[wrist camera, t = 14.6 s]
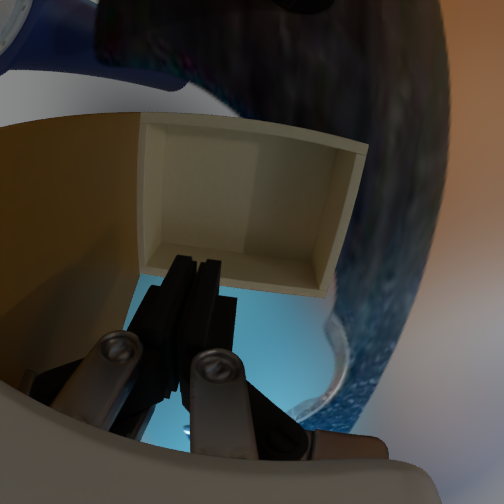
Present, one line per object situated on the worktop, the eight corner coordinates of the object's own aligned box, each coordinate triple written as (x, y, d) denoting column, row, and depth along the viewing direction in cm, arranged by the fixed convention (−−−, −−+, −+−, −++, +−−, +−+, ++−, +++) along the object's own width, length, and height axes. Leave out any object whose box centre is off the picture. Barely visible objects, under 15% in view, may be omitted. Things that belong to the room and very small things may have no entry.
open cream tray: (345, 138, 21) (368, 144, 16) (314, 266, 27) (325, 298, 22) (163, 112, 20) (138, 112, 15) (156, 244, 26) (137, 272, 21)
